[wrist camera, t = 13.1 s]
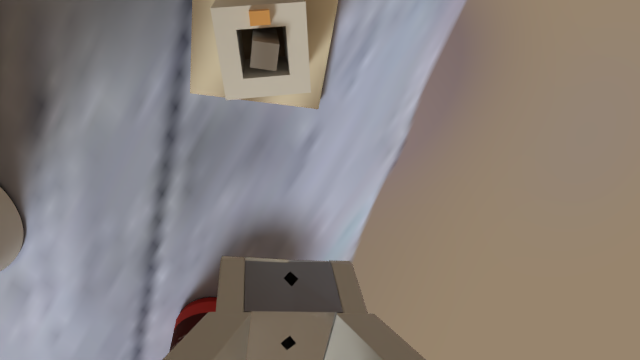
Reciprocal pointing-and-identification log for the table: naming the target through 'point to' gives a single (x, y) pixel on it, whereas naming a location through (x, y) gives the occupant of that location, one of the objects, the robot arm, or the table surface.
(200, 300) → the canned food
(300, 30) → the beige hollow cube
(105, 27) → the table surface
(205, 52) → the shaft block
